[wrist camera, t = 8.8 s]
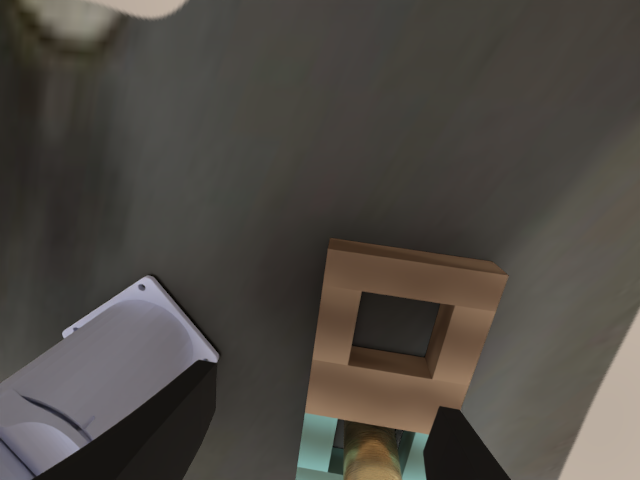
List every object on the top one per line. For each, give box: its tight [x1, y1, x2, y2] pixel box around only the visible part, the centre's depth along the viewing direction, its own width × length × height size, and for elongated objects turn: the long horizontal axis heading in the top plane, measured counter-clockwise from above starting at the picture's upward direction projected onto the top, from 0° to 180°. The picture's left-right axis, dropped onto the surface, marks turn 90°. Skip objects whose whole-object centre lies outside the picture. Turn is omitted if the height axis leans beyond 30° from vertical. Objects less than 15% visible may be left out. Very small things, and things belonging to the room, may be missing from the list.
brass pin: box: [343, 420, 402, 480], centre depth 20 cm, size 4×4×7 cm
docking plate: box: [296, 238, 509, 480], centre depth 21 cm, size 20×10×2 cm, turn 173°
